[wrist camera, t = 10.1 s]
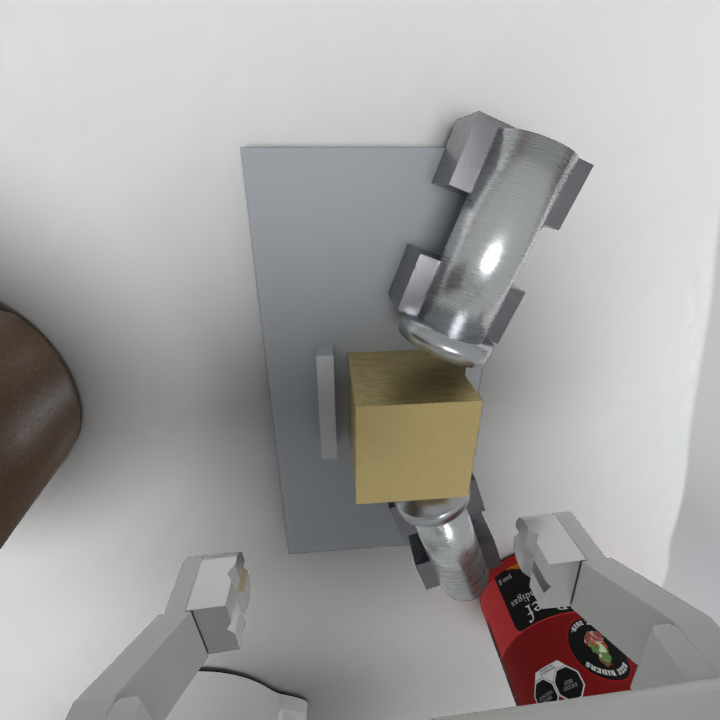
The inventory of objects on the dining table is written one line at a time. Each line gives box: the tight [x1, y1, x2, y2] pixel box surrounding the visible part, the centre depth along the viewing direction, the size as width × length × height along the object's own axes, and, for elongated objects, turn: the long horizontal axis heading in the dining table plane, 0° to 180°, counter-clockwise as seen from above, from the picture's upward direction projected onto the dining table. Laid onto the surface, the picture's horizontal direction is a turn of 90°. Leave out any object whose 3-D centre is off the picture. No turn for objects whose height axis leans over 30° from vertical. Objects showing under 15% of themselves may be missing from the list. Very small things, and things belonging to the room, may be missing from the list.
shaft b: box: [388, 111, 594, 368], centre depth 15 cm, size 8×5×4 cm, turn 160°
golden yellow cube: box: [348, 350, 483, 504], centre depth 18 cm, size 5×5×5 cm
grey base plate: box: [240, 147, 482, 554], centre depth 20 cm, size 23×11×2 cm, turn 0°
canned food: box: [480, 555, 638, 706], centre depth 25 cm, size 8×8×11 cm
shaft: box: [388, 474, 502, 601], centre depth 22 cm, size 8×5×4 cm, turn 20°
